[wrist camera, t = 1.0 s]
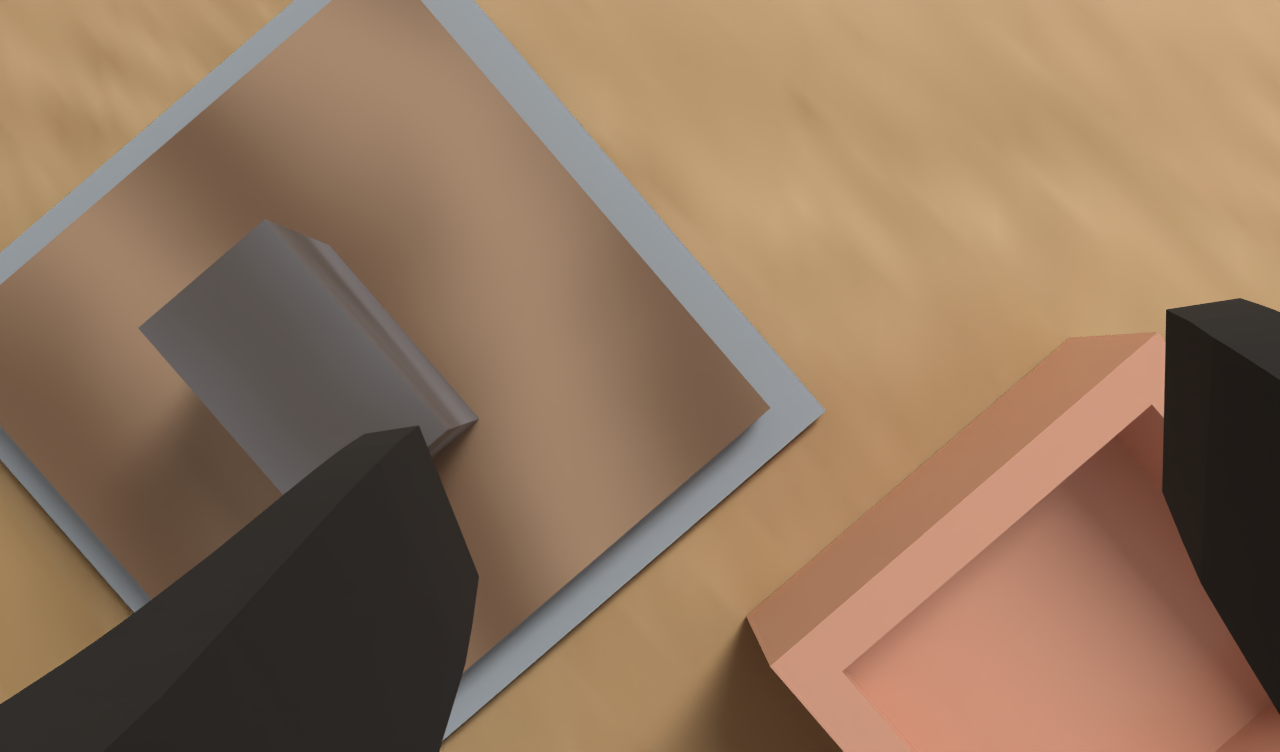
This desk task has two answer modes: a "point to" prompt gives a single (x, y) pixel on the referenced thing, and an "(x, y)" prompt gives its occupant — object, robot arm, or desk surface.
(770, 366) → the rubber mat
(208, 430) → the walnut lid
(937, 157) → the desk surface
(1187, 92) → the desk surface
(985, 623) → the pink open box
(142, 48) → the desk surface
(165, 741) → the robot arm
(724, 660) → the desk surface
